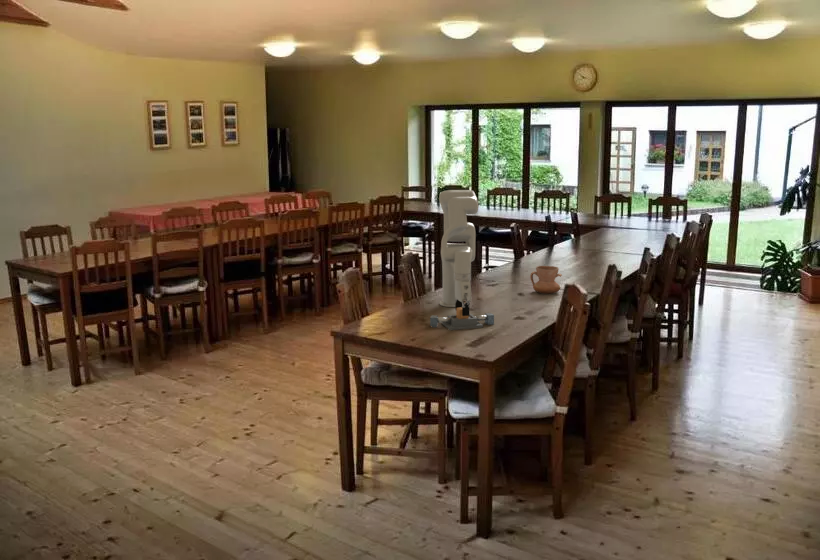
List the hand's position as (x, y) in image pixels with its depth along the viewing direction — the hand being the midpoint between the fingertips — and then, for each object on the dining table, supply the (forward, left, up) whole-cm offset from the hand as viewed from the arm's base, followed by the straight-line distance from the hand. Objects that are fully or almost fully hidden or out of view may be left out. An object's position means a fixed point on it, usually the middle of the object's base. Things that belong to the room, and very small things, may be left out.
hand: (462, 312), depth 327 cm
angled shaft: (-1, -9, -6) cm, 11 cm away
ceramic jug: (-51, +66, -6) cm, 83 cm away
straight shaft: (0, +10, -6) cm, 11 cm away
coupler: (0, 0, -5) cm, 5 cm away
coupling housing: (0, 0, -6) cm, 6 cm away
